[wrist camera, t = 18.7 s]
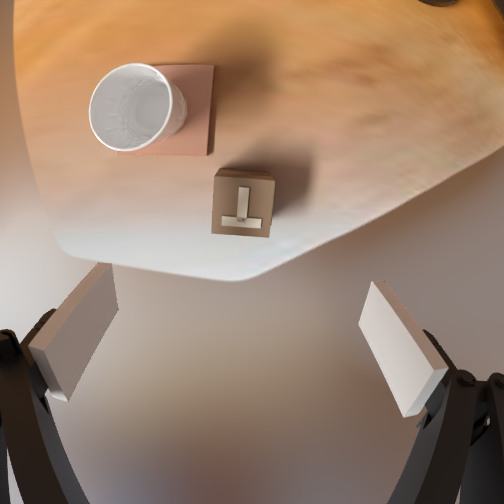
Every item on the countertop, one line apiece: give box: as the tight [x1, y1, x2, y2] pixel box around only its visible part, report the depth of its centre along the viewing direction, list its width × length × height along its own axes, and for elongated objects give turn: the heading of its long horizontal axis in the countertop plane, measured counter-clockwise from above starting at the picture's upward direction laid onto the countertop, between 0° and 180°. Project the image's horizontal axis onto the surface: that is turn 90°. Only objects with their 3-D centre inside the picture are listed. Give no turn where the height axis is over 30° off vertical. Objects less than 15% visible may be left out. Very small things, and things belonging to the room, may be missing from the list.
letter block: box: [211, 169, 275, 238], centre depth 32 cm, size 6×6×6 cm
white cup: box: [89, 63, 188, 151], centre depth 25 cm, size 8×8×10 cm
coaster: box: [118, 64, 215, 156], centre depth 30 cm, size 11×11×1 cm
